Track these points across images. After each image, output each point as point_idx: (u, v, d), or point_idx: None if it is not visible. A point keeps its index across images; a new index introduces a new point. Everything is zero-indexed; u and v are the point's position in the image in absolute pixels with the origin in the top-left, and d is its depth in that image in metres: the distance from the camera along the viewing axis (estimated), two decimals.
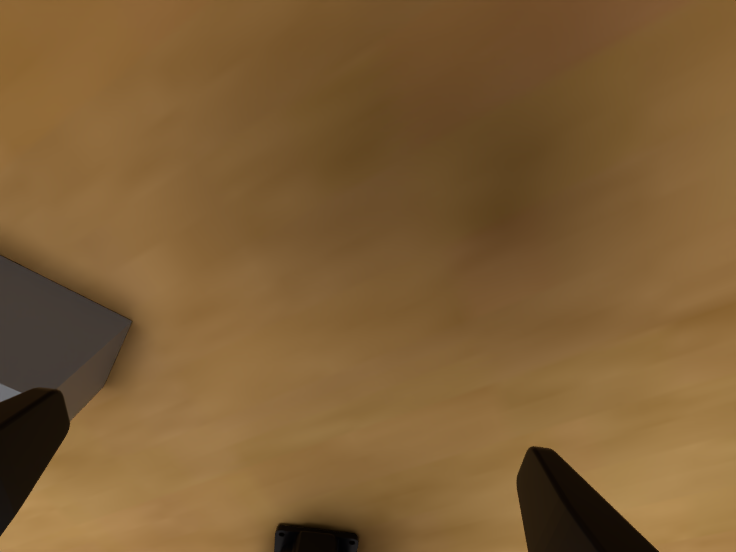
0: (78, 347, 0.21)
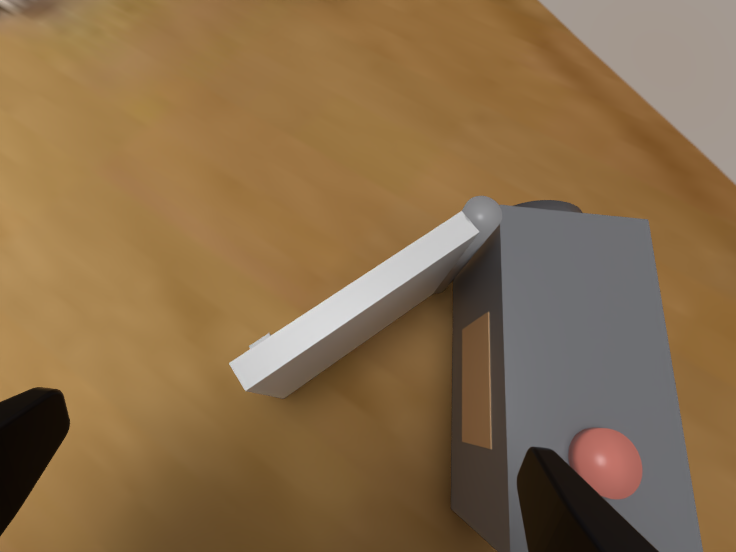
0: None
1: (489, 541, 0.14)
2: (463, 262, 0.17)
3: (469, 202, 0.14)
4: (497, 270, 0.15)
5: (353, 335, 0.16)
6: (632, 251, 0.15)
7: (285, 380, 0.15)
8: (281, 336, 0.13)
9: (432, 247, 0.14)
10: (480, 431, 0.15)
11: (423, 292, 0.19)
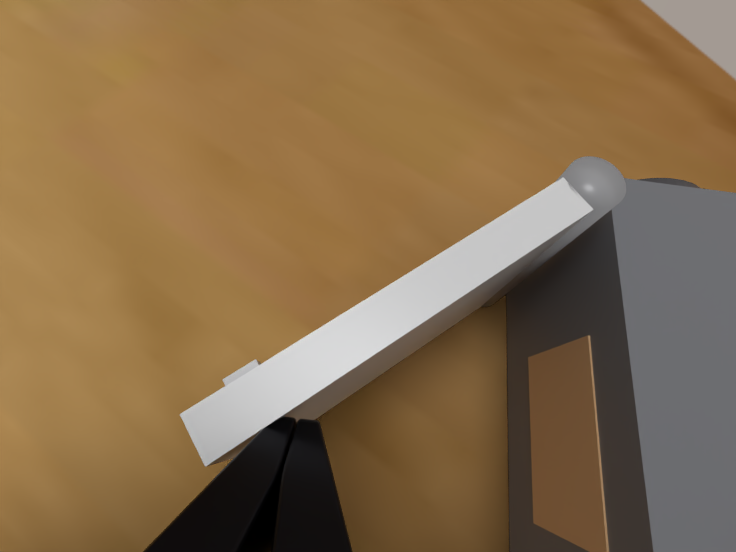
0: None
1: None
2: (541, 262, 0.12)
3: (574, 165, 0.09)
4: (607, 272, 0.10)
5: (382, 363, 0.11)
6: None
7: None
8: (274, 368, 0.07)
9: (521, 230, 0.09)
10: (578, 521, 0.10)
11: (476, 304, 0.13)
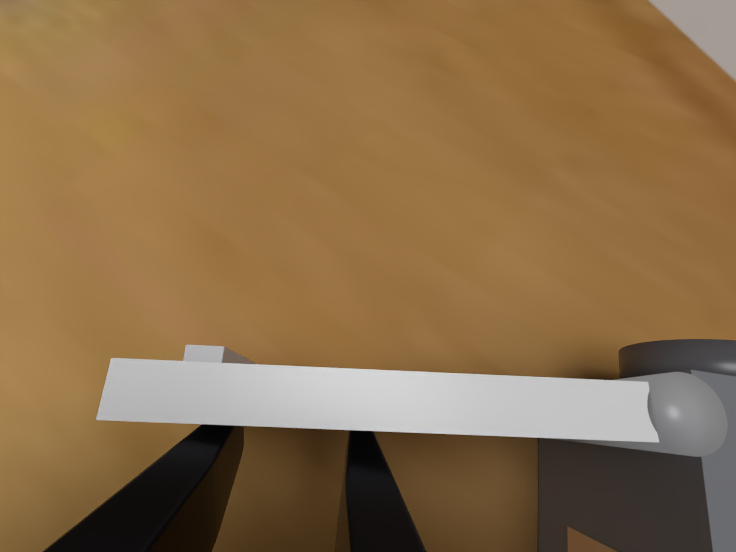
0: None
1: None
2: (576, 440, 0.10)
3: (672, 376, 0.07)
4: (690, 507, 0.08)
5: None
6: None
7: None
8: (212, 374, 0.07)
9: (553, 408, 0.07)
10: None
11: None
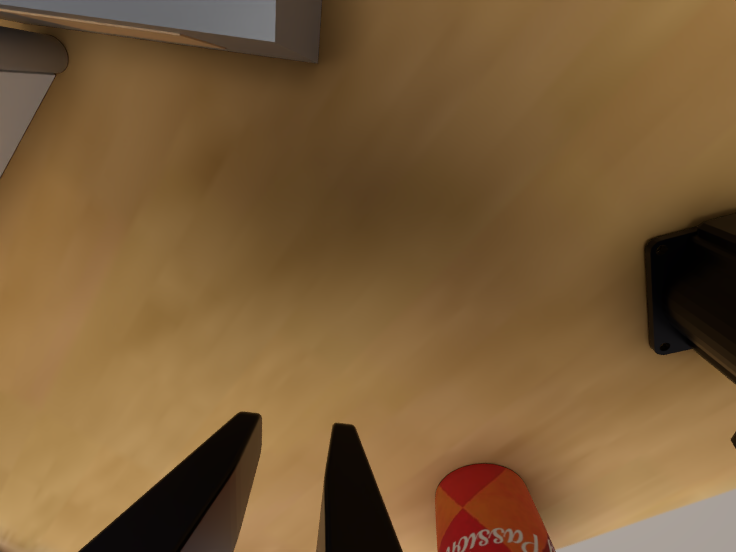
0: None
1: (288, 49, 0.11)
2: None
3: None
4: None
5: None
6: None
7: None
8: None
9: None
10: (178, 38, 0.12)
11: None
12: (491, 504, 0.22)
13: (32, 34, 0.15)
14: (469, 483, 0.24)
